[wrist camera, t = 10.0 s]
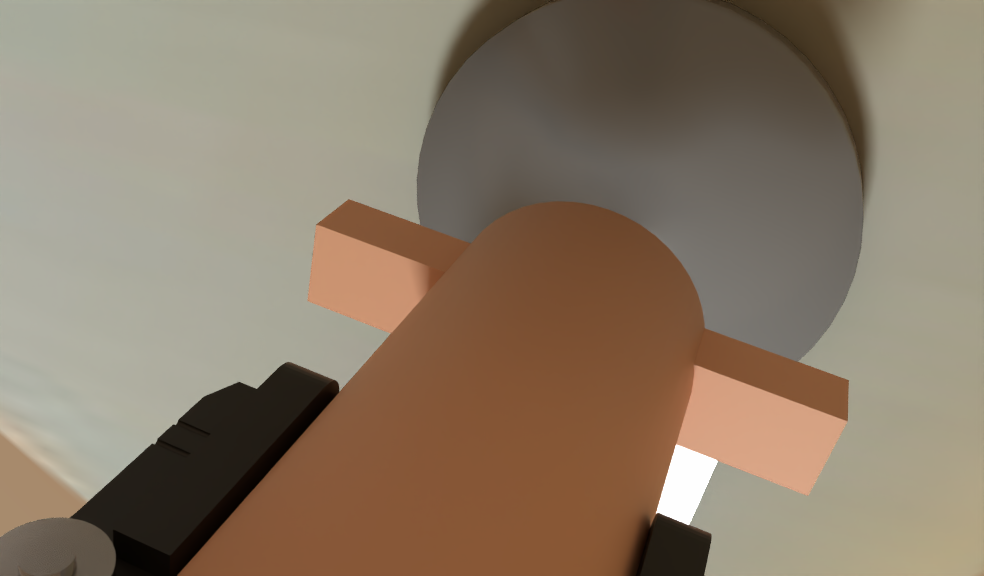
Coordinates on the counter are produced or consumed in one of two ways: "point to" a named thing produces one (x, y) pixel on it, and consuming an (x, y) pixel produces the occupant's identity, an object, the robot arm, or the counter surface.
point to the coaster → (663, 152)
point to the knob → (516, 405)
